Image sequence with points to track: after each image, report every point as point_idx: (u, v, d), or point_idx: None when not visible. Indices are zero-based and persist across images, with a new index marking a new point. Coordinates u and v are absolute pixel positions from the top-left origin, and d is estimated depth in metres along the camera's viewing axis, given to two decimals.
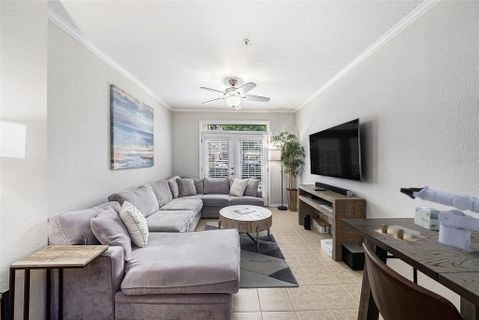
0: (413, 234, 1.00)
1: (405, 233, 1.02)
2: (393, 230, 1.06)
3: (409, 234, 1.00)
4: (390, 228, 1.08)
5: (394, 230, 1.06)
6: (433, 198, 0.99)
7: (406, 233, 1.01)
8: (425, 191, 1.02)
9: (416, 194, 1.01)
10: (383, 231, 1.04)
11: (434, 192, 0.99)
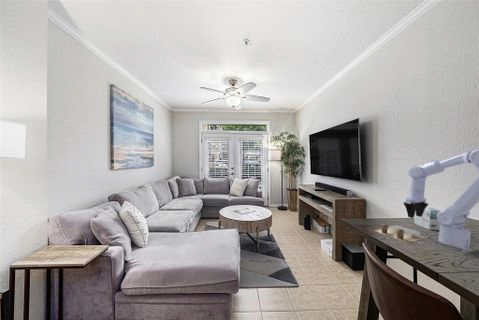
0: (413, 234, 1.00)
1: (405, 233, 1.02)
2: (393, 230, 1.06)
3: (409, 234, 1.00)
4: (390, 228, 1.08)
5: (394, 230, 1.06)
6: (415, 191, 1.07)
7: (406, 233, 1.01)
8: (410, 197, 1.09)
9: (407, 200, 1.06)
10: (383, 231, 1.04)
11: (410, 190, 1.10)
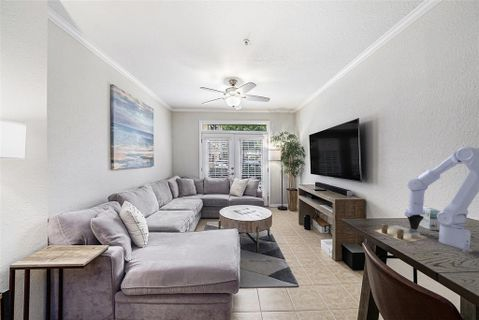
0: (413, 234, 1.00)
1: (405, 233, 1.02)
2: (393, 230, 1.06)
3: (409, 234, 1.00)
4: (390, 228, 1.08)
5: (394, 230, 1.06)
6: (414, 203, 1.07)
7: (406, 233, 1.01)
8: (409, 209, 1.09)
9: (406, 213, 1.06)
10: (383, 231, 1.04)
11: (409, 203, 1.10)
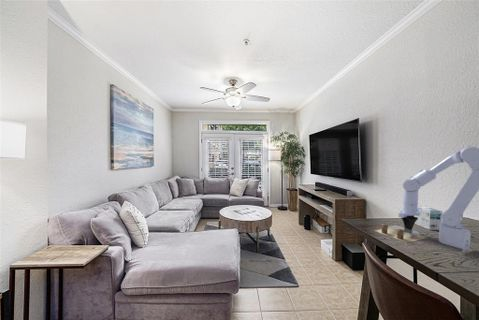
0: (412, 234, 1.00)
1: (404, 233, 1.01)
2: (392, 230, 1.06)
3: (408, 234, 1.00)
4: (389, 228, 1.07)
5: (393, 230, 1.06)
6: (408, 204, 1.05)
7: (405, 233, 1.01)
8: (403, 210, 1.07)
9: (400, 214, 1.04)
10: (383, 231, 1.04)
11: (403, 204, 1.08)
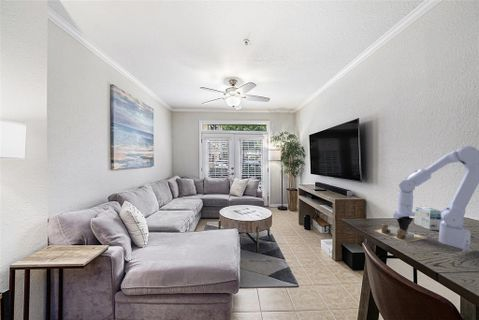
0: (407, 235, 0.98)
1: None
2: (387, 231, 1.04)
3: None
4: None
5: (388, 231, 1.04)
6: (403, 205, 1.03)
7: None
8: (398, 211, 1.05)
9: (395, 215, 1.02)
10: (383, 231, 1.04)
11: (398, 204, 1.06)
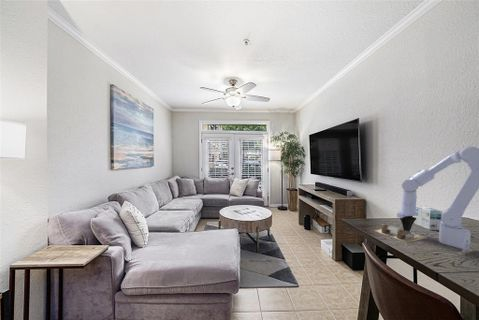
0: (407, 235, 0.98)
1: None
2: (387, 231, 1.04)
3: None
4: None
5: (388, 231, 1.04)
6: (407, 204, 1.04)
7: None
8: (401, 210, 1.07)
9: (399, 214, 1.03)
10: (383, 231, 1.04)
11: (401, 204, 1.07)
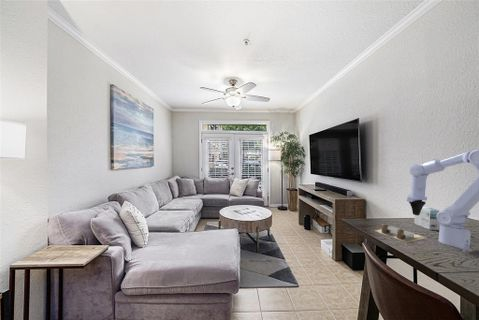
0: (407, 235, 0.98)
1: None
2: (387, 231, 1.04)
3: None
4: None
5: (388, 231, 1.04)
6: (416, 189, 1.07)
7: None
8: (411, 195, 1.10)
9: (409, 198, 1.06)
10: (383, 231, 1.04)
11: (411, 188, 1.10)
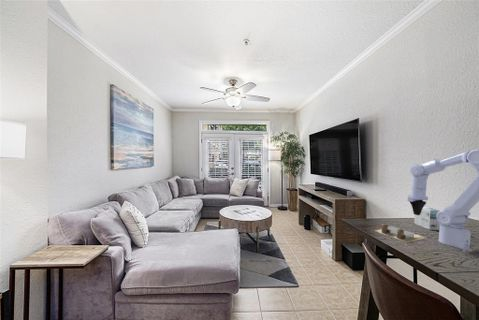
0: (407, 235, 0.98)
1: None
2: (387, 231, 1.04)
3: None
4: None
5: (388, 231, 1.04)
6: (417, 189, 1.07)
7: None
8: (411, 195, 1.10)
9: (409, 198, 1.06)
10: (383, 231, 1.04)
11: (412, 188, 1.10)
